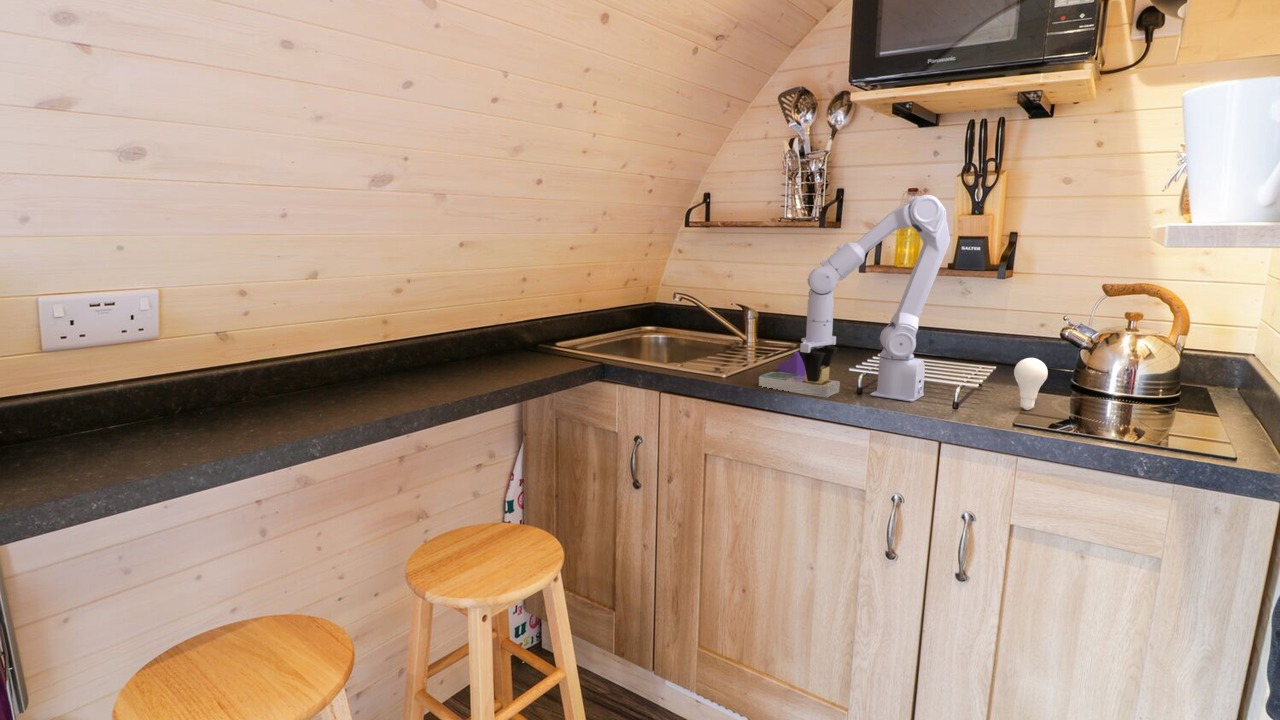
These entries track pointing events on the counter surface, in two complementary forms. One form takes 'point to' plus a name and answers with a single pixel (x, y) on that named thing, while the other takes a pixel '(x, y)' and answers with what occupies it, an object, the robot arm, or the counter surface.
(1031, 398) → the lightbulb
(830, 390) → the white compartment tray
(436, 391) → the counter surface
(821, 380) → the beige hollow block
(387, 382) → the counter surface
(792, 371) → the bracket
